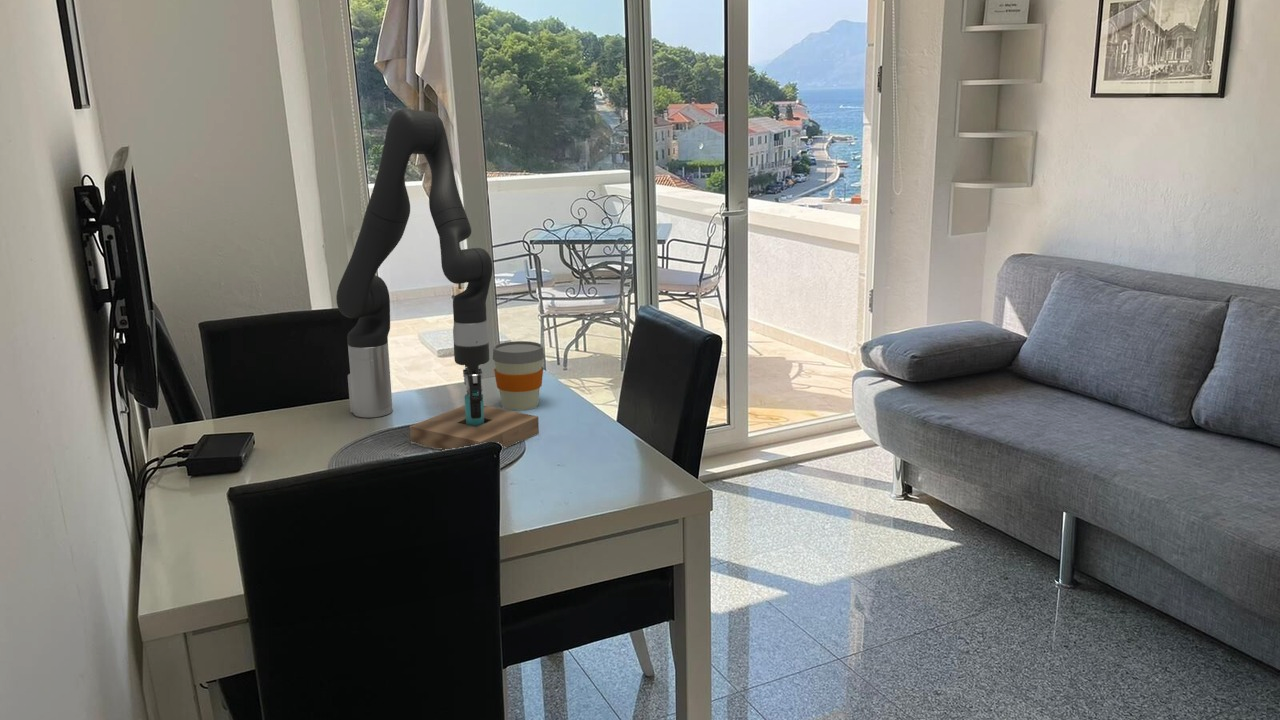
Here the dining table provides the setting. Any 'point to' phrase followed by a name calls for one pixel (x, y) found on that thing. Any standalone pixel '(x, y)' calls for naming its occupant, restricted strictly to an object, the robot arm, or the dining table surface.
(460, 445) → the socket block
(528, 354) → the reusable coffee cup
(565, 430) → the dining table surface
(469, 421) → the peg
